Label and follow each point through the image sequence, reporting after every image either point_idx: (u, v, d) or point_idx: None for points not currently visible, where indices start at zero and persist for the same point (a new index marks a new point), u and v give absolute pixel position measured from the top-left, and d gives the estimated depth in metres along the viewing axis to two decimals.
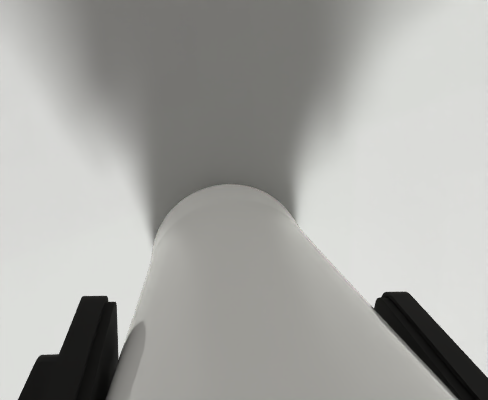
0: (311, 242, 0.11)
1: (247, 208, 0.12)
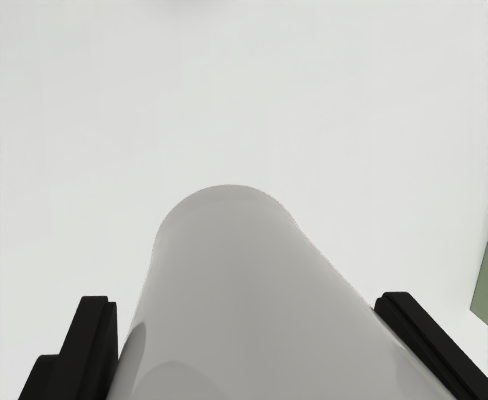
0: (310, 242, 0.11)
1: (247, 209, 0.12)
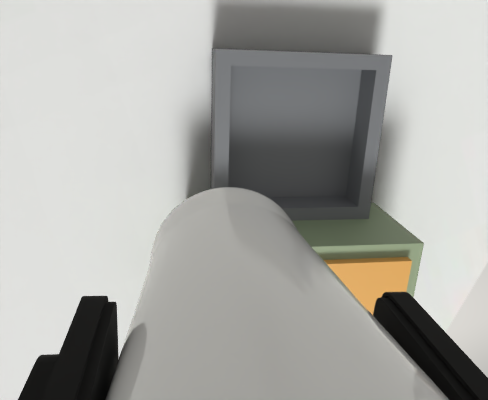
0: (309, 246, 0.11)
1: (246, 212, 0.12)
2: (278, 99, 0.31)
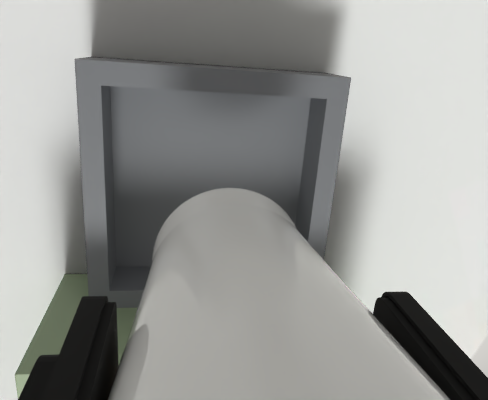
0: (311, 247, 0.11)
1: (247, 212, 0.12)
2: (189, 133, 0.22)
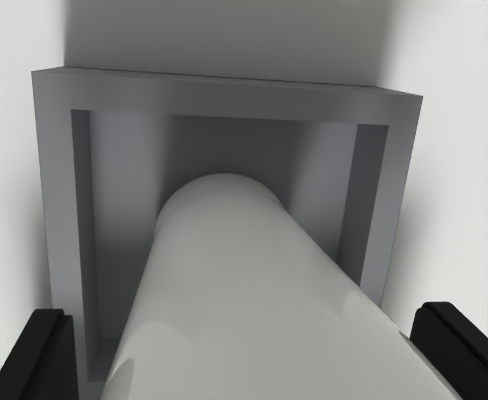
0: (297, 223, 0.13)
1: (240, 193, 0.13)
2: (196, 168, 0.16)
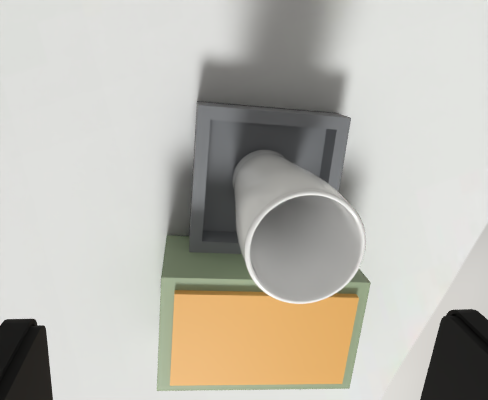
0: None
1: (274, 154, 0.33)
2: (252, 147, 0.36)
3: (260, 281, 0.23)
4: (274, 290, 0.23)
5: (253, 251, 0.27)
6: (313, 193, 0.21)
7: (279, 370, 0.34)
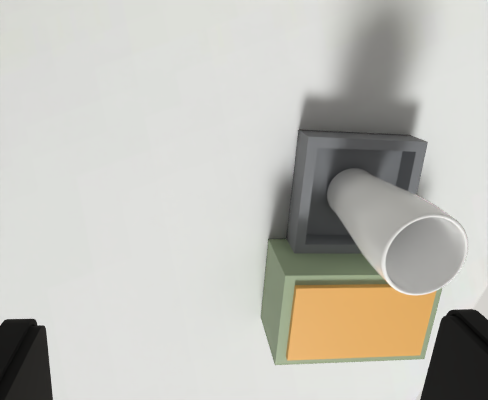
0: None
1: (367, 174, 0.41)
2: (343, 166, 0.43)
3: (390, 280, 0.31)
4: (398, 286, 0.32)
5: None
6: (434, 215, 0.29)
7: (372, 346, 0.42)
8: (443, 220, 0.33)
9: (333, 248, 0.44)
